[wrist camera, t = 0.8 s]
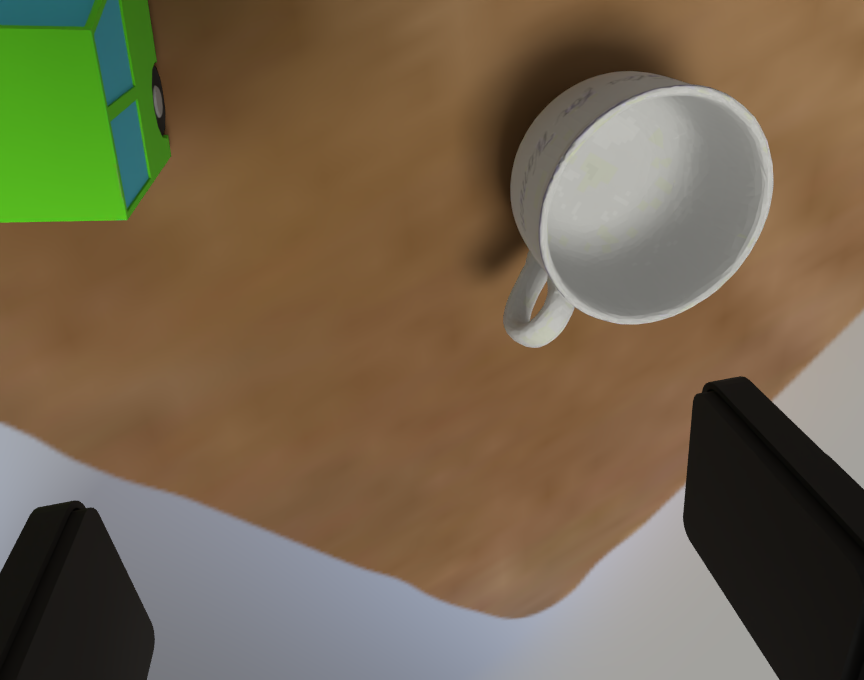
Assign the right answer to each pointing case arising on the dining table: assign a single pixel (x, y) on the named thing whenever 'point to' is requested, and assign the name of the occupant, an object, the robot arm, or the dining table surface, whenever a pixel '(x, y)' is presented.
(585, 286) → the teacup
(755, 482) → the robot arm
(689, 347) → the dining table surface
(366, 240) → the dining table surface
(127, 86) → the toy car
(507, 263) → the dining table surface
